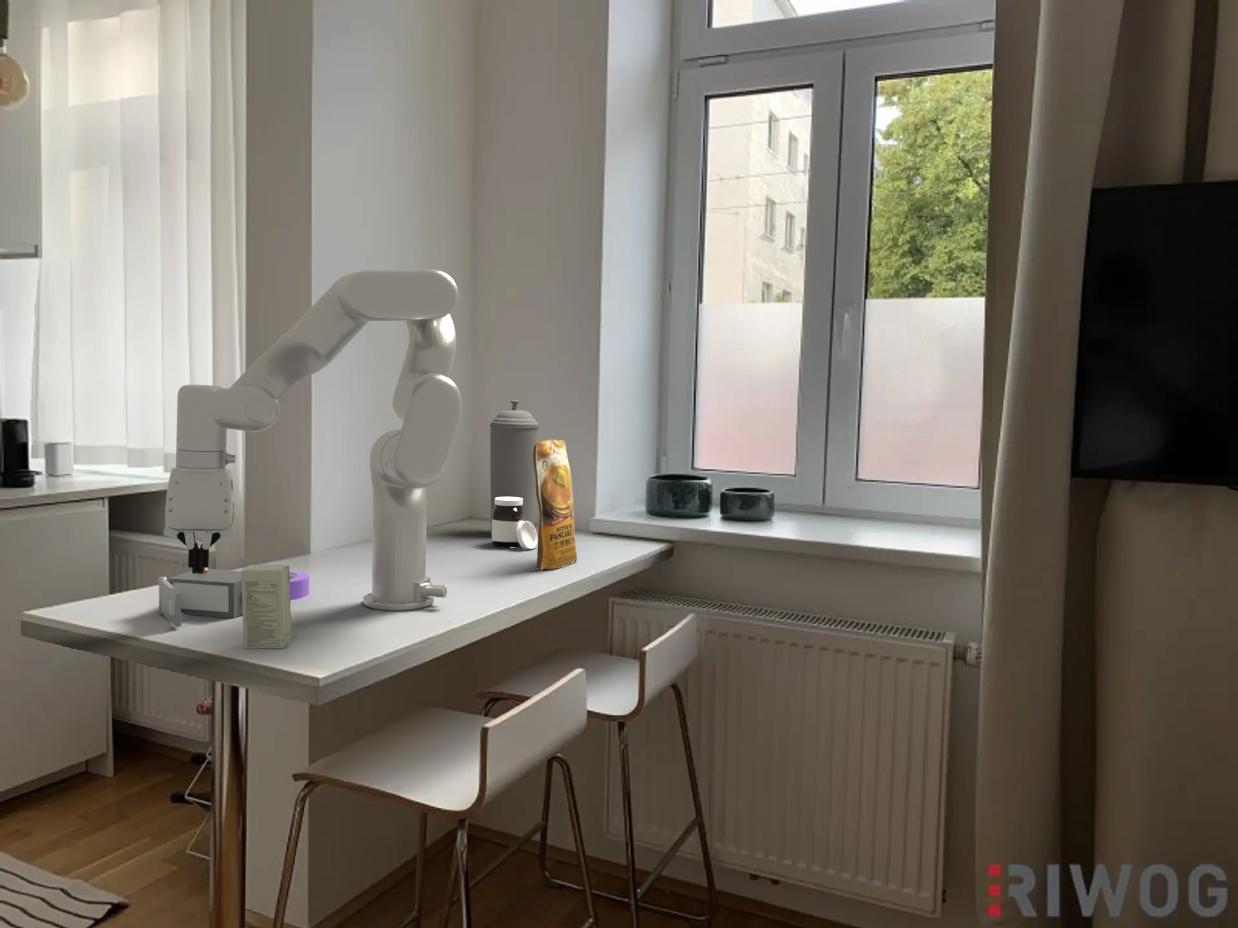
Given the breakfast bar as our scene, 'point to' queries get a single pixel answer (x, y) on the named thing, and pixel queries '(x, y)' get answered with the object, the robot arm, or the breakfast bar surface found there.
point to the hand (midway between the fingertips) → (198, 571)
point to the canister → (513, 458)
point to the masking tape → (298, 584)
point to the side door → (169, 602)
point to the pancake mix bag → (554, 505)
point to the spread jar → (511, 525)
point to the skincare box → (266, 606)
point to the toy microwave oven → (210, 592)
